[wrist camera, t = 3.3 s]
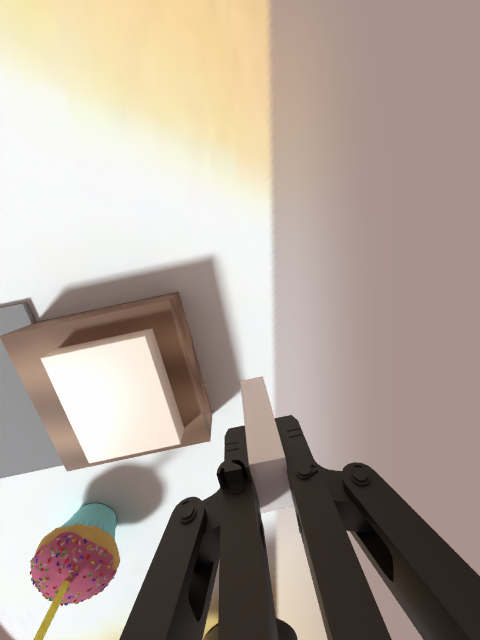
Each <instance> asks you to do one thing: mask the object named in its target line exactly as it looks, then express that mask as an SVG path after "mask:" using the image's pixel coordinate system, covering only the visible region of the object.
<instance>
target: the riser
mask: <svg viewBox="0 0 480 640" xmlns="http://www.w3.org/2000/svg"><path fill="white" fill-rule="evenodd" d="M152 328H153V332H154V335H155V338H156V341H157V344H158V347H159V350H160V354H161V357H162V360H163V363H164V366H165V369H166V372H167V376H168V379H169V382H170V385H171V388H172V391H173V395H174V398H175V401H176V404H177V407H178V410H179V413H180V417H181V420H182V423H183V426H184V431H183V435H182V440H181V444H178V445H174V446H169V447H164V448H159V449H155V450H150V451H145V452H141V453H136V454H131V455H126V456H122V457H117V458H112V459H108V460H103V461H98V462H93V463H89V462H88V460H87V457H86V455H85V453H84V451H83V449H82V447H81V445H80V442H79V440H78V438H77V436H76V434H75V432H74V429H73V427H72V425H71V423H70V421H69V419H68V417H67V414H66V412H65V410H64V408H63V406H62V404H61V401H60V399H59V397H58V395H57V393H56V391H55V389H54V386H53V384H52V382H51V380H50V378H49V376H48V373H47V371H46V369H45V367H44V365H43V363H42V361H41V358H42V357H44V356H46V355H47V354H49V353H51V352H53V351H54V350H56V349H58V348H62V347H67V346H72V345H77V344H81V343H86V342H91V341H95V340H100V339H105V338H109V337H114V336H119V335H123V334H128V333H133V332H137V331H142V330H147V329H152ZM0 339H1V341H2V343H3V345H4V347H5V349H6V351H7V353H8V355H9V357H10V359H11V361H12V363H13V365H14V367H15V369H16V371H17V373H18V375H19V377H20V379H21V381H22V383H23V385H24V387H25V389H26V391H27V393H28V395H29V397H30V399H31V401H32V403H33V405H34V407H35V409H36V411H37V413H38V415H39V417H40V419H41V421H42V422H43V424H44V426H45V428H46V430H47V432H48V434H49V436H50V438H51V440H52V442H53V444H54V446H55V448H56V450H57V452H58V454H59V456H60V458H61V460H62V462H63V464H64V466H65V468H66V470H67V471H71V470H76V469H81V468H85V467H90V466H95V465H100V464H104V463H109V462H114V461H118V460H123V459H128V458H133V457H137V456H142V455H147V454H151V453H156V452H161V451H166V450H170V449H175V448H180V447H184V446H189V445H194V444H199V443H203V442H208V441H210V437H211V424H212V412H211V408H210V405H209V401H208V397H207V394H206V390H205V386H204V383H203V379H202V376H201V372H200V368H199V365H198V361H197V357H196V354H195V350H194V347H193V343H192V339H191V336H190V332H189V328H188V325H187V321H186V318H185V314H184V310H183V307H182V303H181V299H180V296H179V292H176V293H171V294H167V295H162V296H157V297H153V298H148V299H143V300H139V301H134V302H129V303H124V304H120V305H115V306H110V307H106V308H101V309H96V310H92V311H87V312H82V313H78V314H73V315H68V316H64V317H59V318H54V319H50V320H45V321H40V322H36V323H33V324H30V325H28V326H25V327H22V328H20V329H17V330H14V331H12V332H9V333H6V334H4V335H1V336H0Z"/></svg>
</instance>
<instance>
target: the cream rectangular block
mask: <svg viewBox="0 0 480 640" xmlns="http://www.w3.org/2000/svg"><path fill="white" fill-rule="evenodd" d="M41 361H42V363H43V365H44V367H45V369H46V371H47V373H48V376H49V378H50V380H51V382H52V384H53V386H54V389H55V391H56V393H57V395H58V397H59V399H60V401H61V404H62V406H63V408H64V410H65V412H66V414H67V417H68V419H69V421H70V423H71V425H72V427H73V429H74V432H75V434H76V436H77V438H78V440H79V442H80V445H81V447H82V449H83V451H84V453H85V455H86V457H87V460H88V462H89V463H93V462H98V461H103V460H108V459H112V458H117V457H122V456H126V455H131V454H136V453H141V452H145V451H150V450H155V449H159V448H164V447H169V446H174V445H178V444H181V440H182V435H183V431H184V426H183V423H182V420H181V417H180V413H179V410H178V407H177V404H176V401H175V398H174V395H173V391H172V388H171V385H170V382H169V379H168V376H167V372H166V369H165V366H164V363H163V360H162V357H161V354H160V350H159V347H158V344H157V341H156V338H155V335H154V332H153V328H152V329H147V330H142V331H137V332H133V333H128V334H123V335H119V336H114V337H109V338H105V339H100V340H95V341H91V342H86V343H81V344H77V345H72V346H67V347H62V348H58V349H56V350H54V351H53V352H51V353H49V354H47V355H46V356H44V357H42V358H41Z"/></svg>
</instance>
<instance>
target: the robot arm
mask: <svg viewBox="0 0 480 640" xmlns="http://www.w3.org/2000/svg"><path fill="white" fill-rule="evenodd" d="M240 383H241V392H242V402H243V412H244V422H245V425H244V426H240V427H235V428H230V429H228V431H227V433H226V435H225V457H224V462H223V463H221V465H220V466H219V468H218V470H217V477H218V480H219V484H220V489H219V490H218V491H217V492H216V493H215V494H213V495H212V496H210V497H208V498H207V499H205V500H203V501H202V500H200V499H199V498H197V497H189V498H186V499H184V500H182V501H181V502H180V503H179V504H178V505H177V506H176V507H175V509H174V511H173V512H172V515H171V517H170V519H169V522H168V524H167V527H166V529H165V531H164V534H163V536H162V539H161V541H160V543H159V546H158V548H157V551H156V553H155V555H154V558H153V560H152V563H151V565H150V567H149V570H148V572H147V575H146V577H145V579H144V582H143V584H142V587H141V589H140V591H139V594H138V596H137V599H136V601H135V603H134V606H133V608H132V611H131V613H130V615H129V618H128V620H127V623H126V625H125V627H124V630H123V632H122V635H121V637H120V640H202V638H203V633H204V629H205V624H206V619H207V615H208V610H209V605H210V601H211V596H212V591H213V586H214V582H215V577H216V572H217V568H218V563H219V558H220V569H219V619H218V626H216V627H215V628H213V629H212V630H211V631H210V632H209V633H208V634H207V635H206V636H205V638H204V639H203V640H297V636H296V633H295V631H294V630H293V628H292V627H291V626H290V625H288V624H287V623H285V622H284V621H282V620H280V619H277V618H275V610H274V603H273V595H272V588H271V580H270V573H269V565H268V558H267V551H266V543H265V536H264V528H263V524H262V520H261V513H264V512H269V511H274V510H279V509H283V508H288V507H295V510H296V516H297V521H298V526H299V532H300V533H301V537H302V541H303V544H304V548H305V552H306V556H307V560H308V564H309V568H310V572H311V576H312V580H313V584H314V587H315V591H316V595H317V599H318V603H319V607H320V610H321V615H322V619H323V622H324V627H325V630H326V634H327V638H328V640H392V639H391V637H390V635H389V633H388V630H387V628H386V625H385V623H384V621H383V618H382V616H381V613H380V611H379V609H378V606H377V604H376V601H375V599H374V596H373V594H372V592H371V589H370V587H369V584H368V582H367V580H366V577H365V575H364V572H363V570H362V568H361V565H360V563H359V560H358V558H357V556H356V553H355V551H354V549H353V546H352V544H351V541H350V539H349V537H348V534H347V532H346V530H347V531H350V532H351V534H352V535H353V537H354V538H355V540H356V541H357V542H358V544H359V545H360V547H361V548H362V550H363V551H364V553H365V554H366V556H367V557H368V559H369V560H370V561H371V563H372V564H373V566H374V567H375V569H376V570H377V572H378V573H379V575H380V576H381V577H382V579H383V581H384V582H385V584H386V585H387V586H388V588H389V589H390V591H391V592H392V594H393V595H394V597H395V598H396V600H397V601H398V603H399V604H400V606H401V607H402V608H403V610H404V611H405V613H406V614H407V616H408V617H409V619H410V620H411V622H412V623H413V625H414V626H415V627H416V629H417V630H418V632H419V633H420V635H421V636H422V638H423V639H424V640H480V576H479V575H478V574H477V573H476V572H475V571H474V570H473V569H472V568H471V567H470V566H469V565H468V564H467V563H466V562H465V561H464V560H463V559H462V558H461V557H460V556H459V555H458V554H457V553H456V552H455V551H454V550H453V549H452V548H451V547H450V546H449V545H448V544H447V543H446V542H445V541H444V540H443V539H442V538H441V537H440V536H439V535H438V534H437V533H436V532H435V531H434V530H433V529H432V528H431V527H430V526H429V525H428V524H427V523H426V522H425V521H424V520H423V519H422V518H421V517H420V516H419V515H418V514H417V513H416V512H415V511H414V510H413V509H412V508H411V507H410V506H409V505H408V504H407V503H406V502H405V501H404V500H403V499H402V498H401V497H400V496H399V495H398V494H397V493H396V492H395V491H394V490H393V489H392V488H391V487H390V486H389V485H388V484H387V483H386V482H385V481H384V480H383V479H382V478H381V477H380V476H379V475H378V474H377V473H376V472H375V471H374V470H373V469H372V468H371V467H369V466H367V465H365V464H362V463H350V464H348V465H346V466H345V467H344V468H343V471H334V470H328V469H325V468H323V467H321V466H320V465H318V464H317V463H316V462H315V460H314V459H313V456H312V454H311V452H310V449H309V447H308V444H307V442H306V439H305V437H304V435H303V432H302V430H301V427H300V425H299V422H298V420H297V419H295V418H294V417H293V416H292V415H289V416H285V417H280V418H275V419H274V415H273V412H272V408H271V404H270V401H269V397H268V394H267V390H266V386H265V383H264V379H263V377H258V378H253V379H248V380H243V381H240ZM260 512H261V513H260Z"/></svg>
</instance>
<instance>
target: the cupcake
mask: <svg viewBox="0 0 480 640" xmlns="http://www.w3.org/2000/svg"><path fill="white" fill-rule="evenodd" d="M115 528H116V515H115V513H114V511H113V510H112V509H111V508H109V507H108V506H106V505H103V504H98V503H92V504H87V505H85V506H83V507H81V508H80V509H79V510H78V511H77V512H76V513H75V514H74V516H73V517H72V518H71V519H70V520H69V521H68V522H66V523H65V524H64V525H63V526H61V527H59V528H56V529H55V530H53V531H52V532H51V533H49V534H48V535H47V536H45V537H44V538H43V539H42V541H41V542H40V544H39V546H38V548H37V550H36V553H35V556H34V558H32V560H31V561H30V563H31V572H30V575H31V573H32V578H31V581H33V585H34V584H35V587H37V589H38V591H39V592H41V593H42V594H43V596H45V599H49V601H53V602H52V604H51V606H50V608H49V610H48V612H47V614H46V616H45V618H44V620H43V622H42V624H41V626H40V628H39V630H38V632H37V634H36V636H35V638H34V640H43V638H44V636H45V634H46V632H47V630H48V628H49V625H50V623H51V621H52V619H53V617H54V615H55V613H56V611H57V609H58V607H59V605H60V604H61V606H63V604H64V605H68V604H70V603H75V604H78V603H79V602H83V601H84V600H86V599H90V598H91V597H92V596H93V595H97V594H98V593H100V592H102V591H103V590H104V588H105V587H106V586H108V585H109V584H108V583H109V582H110V581H111V580H112V579H114V575H115V574H116V571H117V568H118V566H119V563H120V557H119V552H118V548H117V545H116V542H115Z"/></svg>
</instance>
